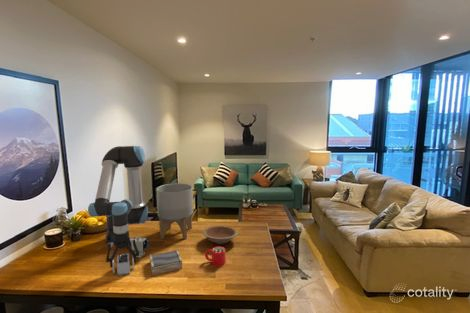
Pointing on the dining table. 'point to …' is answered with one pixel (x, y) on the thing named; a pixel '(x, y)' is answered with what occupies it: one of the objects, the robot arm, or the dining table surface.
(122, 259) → the housing
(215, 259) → the mug
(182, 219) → the planter
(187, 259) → the dining table surface
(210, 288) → the dining table surface
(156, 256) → the stand
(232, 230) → the bowl
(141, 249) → the pneumatic valve
